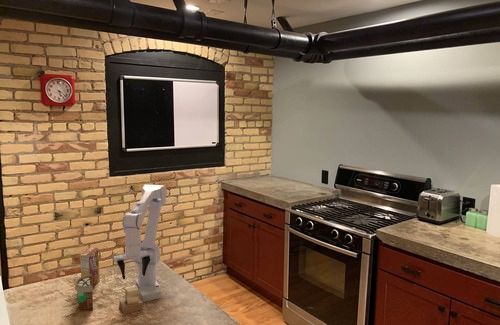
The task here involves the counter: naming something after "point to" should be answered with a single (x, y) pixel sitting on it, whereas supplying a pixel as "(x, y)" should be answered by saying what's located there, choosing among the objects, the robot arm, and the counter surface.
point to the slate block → (148, 293)
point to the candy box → (90, 264)
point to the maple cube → (131, 294)
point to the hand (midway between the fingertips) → (133, 276)
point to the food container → (85, 292)
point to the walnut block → (130, 305)
